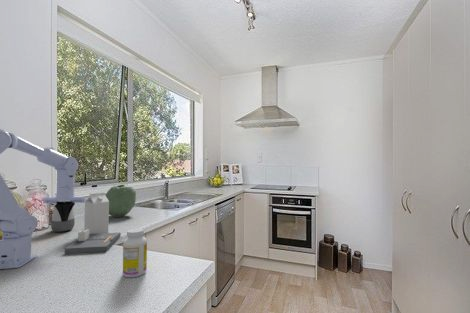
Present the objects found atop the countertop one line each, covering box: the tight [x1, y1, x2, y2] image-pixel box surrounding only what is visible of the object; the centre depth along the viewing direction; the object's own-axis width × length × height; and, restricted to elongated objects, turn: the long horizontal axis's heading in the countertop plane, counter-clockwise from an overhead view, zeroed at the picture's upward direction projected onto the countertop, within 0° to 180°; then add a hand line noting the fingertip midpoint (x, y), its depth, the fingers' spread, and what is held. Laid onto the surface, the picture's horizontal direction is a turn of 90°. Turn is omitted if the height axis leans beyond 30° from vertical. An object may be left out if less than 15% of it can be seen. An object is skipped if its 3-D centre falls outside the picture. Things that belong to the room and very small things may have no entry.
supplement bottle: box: [122, 227, 148, 278], centre depth 71 cm, size 7×7×13 cm
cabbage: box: [105, 183, 137, 218], centre depth 146 cm, size 16×19×20 cm
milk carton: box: [83, 191, 110, 234], centre depth 109 cm, size 7×7×19 cm
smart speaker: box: [50, 205, 76, 233], centre depth 115 cm, size 10×9×14 cm
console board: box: [64, 232, 121, 255], centre depth 95 cm, size 18×14×3 cm
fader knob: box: [77, 228, 89, 241], centre depth 95 cm, size 4×2×4 cm, turn 11°
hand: (64, 221), depth 93 cm, fingers closed
